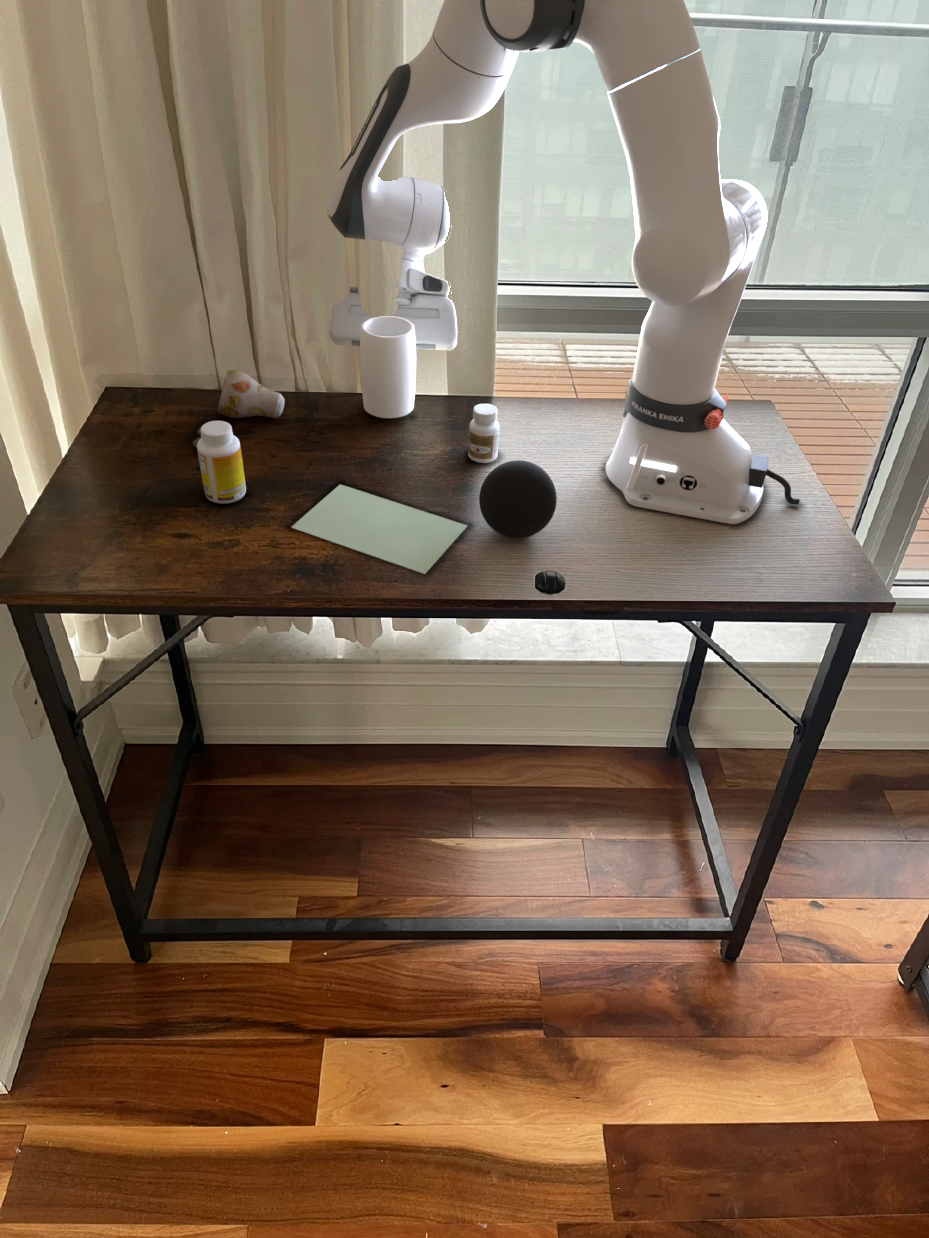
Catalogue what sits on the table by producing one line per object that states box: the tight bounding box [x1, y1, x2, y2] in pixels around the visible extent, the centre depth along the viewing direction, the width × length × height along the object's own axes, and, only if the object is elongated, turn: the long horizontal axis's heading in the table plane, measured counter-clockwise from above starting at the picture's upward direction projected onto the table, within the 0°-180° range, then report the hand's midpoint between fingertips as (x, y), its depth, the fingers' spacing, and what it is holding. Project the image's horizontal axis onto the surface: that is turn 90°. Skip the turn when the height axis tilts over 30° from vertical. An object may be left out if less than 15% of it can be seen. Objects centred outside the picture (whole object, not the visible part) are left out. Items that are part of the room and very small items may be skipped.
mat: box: [290, 484, 468, 575], centre depth 123 cm, size 20×12×1 cm, turn 63°
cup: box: [359, 316, 417, 419], centre depth 142 cm, size 8×8×14 cm
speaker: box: [478, 459, 558, 539], centre depth 121 cm, size 10×10×10 cm
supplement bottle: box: [196, 420, 247, 505], centre depth 124 cm, size 6×6×10 cm
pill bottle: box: [467, 403, 500, 464], centre depth 136 cm, size 4×4×8 cm
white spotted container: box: [217, 369, 286, 419], centre depth 142 cm, size 8×10×10 cm
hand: (392, 373), depth 147 cm, fingers closed, pressing on cup
